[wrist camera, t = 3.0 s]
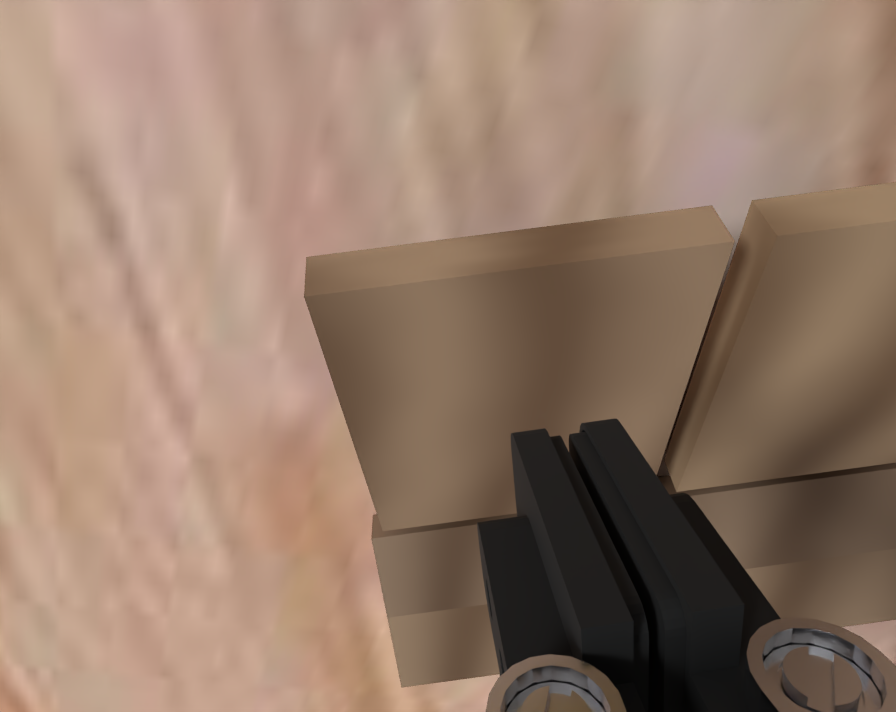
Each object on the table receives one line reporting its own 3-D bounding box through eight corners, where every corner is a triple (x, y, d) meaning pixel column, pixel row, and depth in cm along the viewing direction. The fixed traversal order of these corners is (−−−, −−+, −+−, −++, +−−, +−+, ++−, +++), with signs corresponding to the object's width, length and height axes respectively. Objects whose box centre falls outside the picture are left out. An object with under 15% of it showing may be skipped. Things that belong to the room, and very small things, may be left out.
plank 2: (664, 460, 25) (676, 492, 24) (752, 200, 16) (777, 236, 15) (917, 426, 25) (940, 456, 24) (1149, 150, 16) (1198, 182, 15)
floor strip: (919, 442, 26) (946, 461, 24) (886, 593, 29) (908, 617, 28) (373, 515, 25) (371, 538, 24) (401, 660, 29) (401, 687, 27)
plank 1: (381, 497, 25) (382, 531, 24) (306, 257, 16) (304, 296, 15) (638, 463, 25) (650, 495, 24) (711, 205, 16) (734, 241, 15)
